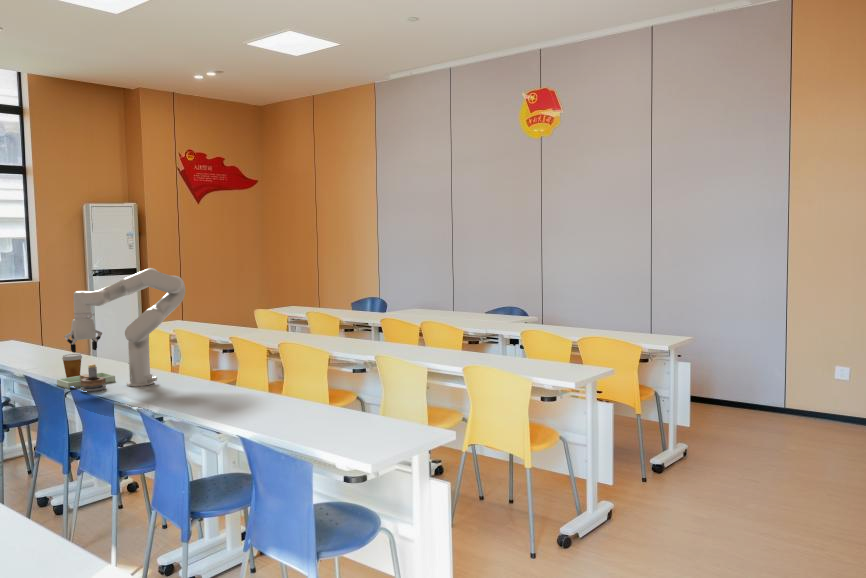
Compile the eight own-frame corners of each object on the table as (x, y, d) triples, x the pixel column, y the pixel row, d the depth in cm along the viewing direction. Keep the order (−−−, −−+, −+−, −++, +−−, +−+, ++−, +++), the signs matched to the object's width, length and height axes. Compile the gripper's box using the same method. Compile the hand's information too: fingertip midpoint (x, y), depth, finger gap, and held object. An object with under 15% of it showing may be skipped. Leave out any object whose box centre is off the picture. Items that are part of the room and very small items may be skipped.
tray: (103, 378, 363) (103, 372, 362) (115, 381, 353) (115, 375, 353) (57, 385, 346) (56, 379, 346) (68, 389, 336) (68, 383, 336)
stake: (110, 389, 334) (108, 364, 333) (86, 393, 326) (84, 368, 325) (100, 386, 342) (99, 362, 341) (77, 390, 334) (75, 365, 333)
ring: (108, 383, 334) (107, 377, 334) (86, 386, 327) (86, 380, 326) (94, 378, 345) (93, 373, 345) (73, 382, 338) (72, 376, 338)
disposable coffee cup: (87, 375, 370) (85, 353, 369) (76, 379, 360) (74, 356, 359) (70, 375, 371) (69, 353, 370) (59, 379, 361) (57, 356, 360)
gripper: (98, 314, 346) (99, 348, 347) (61, 317, 333) (62, 352, 334) (104, 315, 341) (105, 349, 342) (67, 318, 328) (68, 354, 329)
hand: (84, 351), depth 338 cm, fingers open, 9 cm apart
